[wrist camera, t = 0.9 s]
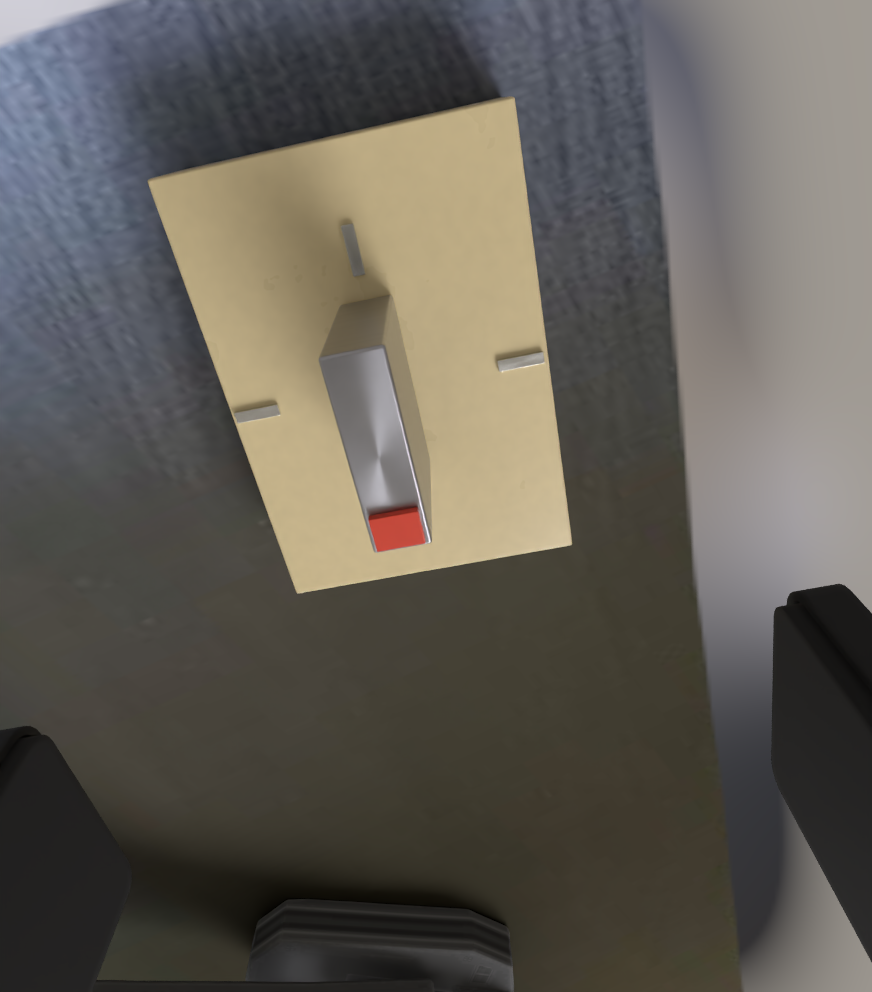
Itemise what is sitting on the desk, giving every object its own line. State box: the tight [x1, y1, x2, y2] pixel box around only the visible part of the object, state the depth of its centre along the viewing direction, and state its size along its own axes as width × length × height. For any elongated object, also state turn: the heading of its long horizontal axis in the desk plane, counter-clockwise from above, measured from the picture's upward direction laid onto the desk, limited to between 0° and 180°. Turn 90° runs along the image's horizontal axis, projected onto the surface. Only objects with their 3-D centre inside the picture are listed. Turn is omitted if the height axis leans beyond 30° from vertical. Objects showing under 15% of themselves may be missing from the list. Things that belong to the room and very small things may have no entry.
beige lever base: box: [148, 97, 572, 593], centre depth 23 cm, size 14×10×3 cm
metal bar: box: [319, 295, 432, 553], centre depth 20 cm, size 6×2×5 cm, turn 11°
